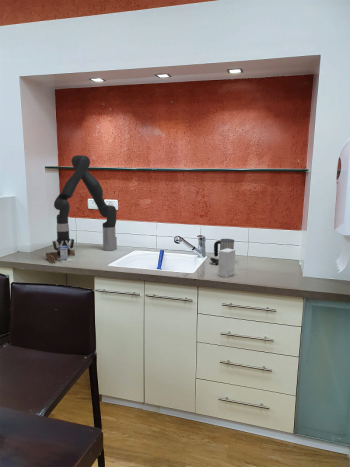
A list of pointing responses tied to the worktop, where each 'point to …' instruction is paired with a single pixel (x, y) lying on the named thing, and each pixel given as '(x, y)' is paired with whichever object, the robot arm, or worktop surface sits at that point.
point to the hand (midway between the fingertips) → (64, 255)
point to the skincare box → (226, 262)
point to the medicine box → (63, 252)
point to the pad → (64, 260)
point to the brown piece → (56, 255)
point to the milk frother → (222, 247)
